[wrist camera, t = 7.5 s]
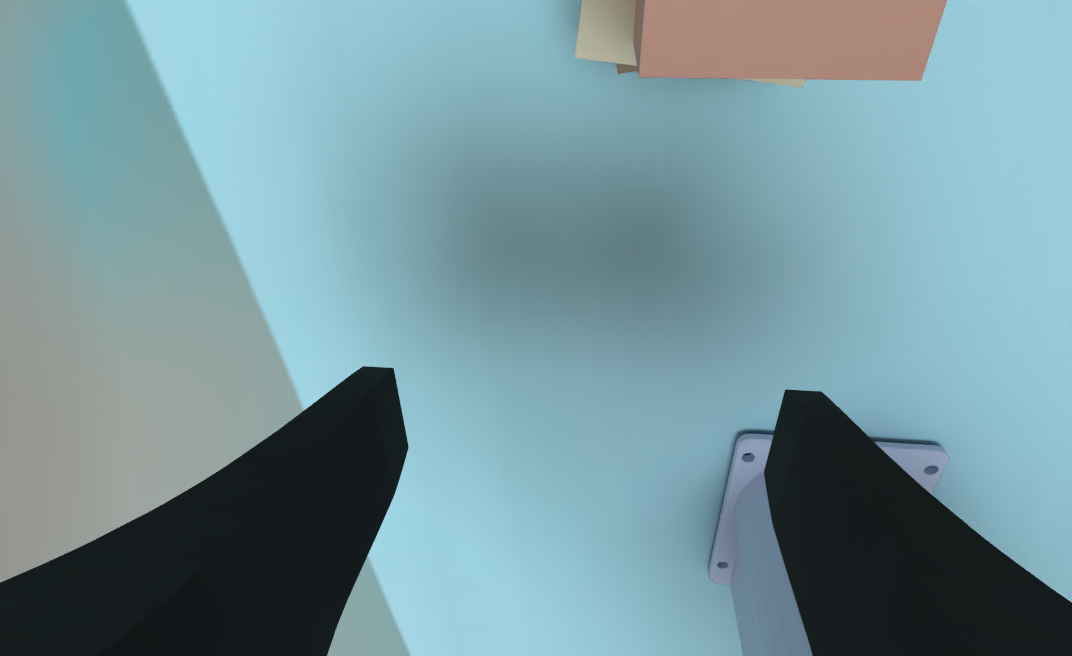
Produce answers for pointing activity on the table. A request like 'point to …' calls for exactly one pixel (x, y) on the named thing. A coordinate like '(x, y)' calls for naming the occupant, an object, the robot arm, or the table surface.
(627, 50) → the tower top
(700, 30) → the block
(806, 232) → the table surface
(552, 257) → the table surface
